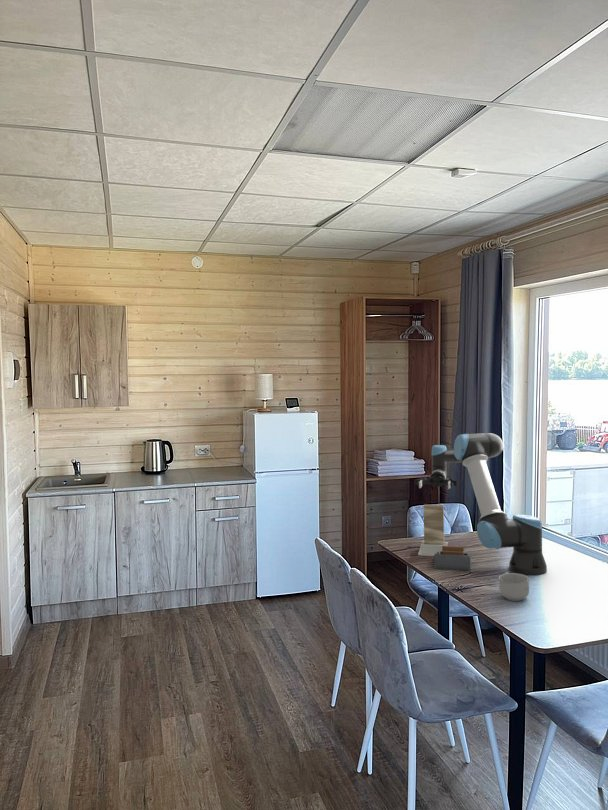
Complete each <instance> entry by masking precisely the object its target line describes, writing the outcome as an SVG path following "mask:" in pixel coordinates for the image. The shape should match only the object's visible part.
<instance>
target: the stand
mask: <svg viewBox="0 0 608 810" xmlns="http://www.w3.org/2000/svg"><path fill="white" fill-rule="evenodd" d="M448 544H449V542H448V541H444V545H446V546H449V545H448ZM419 545H420V546H419V547H420V548H419V551H418V553H417V556H426V557H434V554H437V552H439V554H440V551H442V546H443V545H433V544H424V540H421V543H420V544H419Z"/></svg>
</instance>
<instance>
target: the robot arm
mask: <svg viewBox="0 0 608 810" xmlns="http://www.w3.org/2000/svg"><path fill="white" fill-rule="evenodd" d="M453 445H454V446H453V448H448V447H447V446H446V445H443V444H435V445H432V446H431V474H430V476H429V477H428V478H427V477H426V476H424V477H421V478H417V479H414V486H418V489H422V487H423V486H424V485H430V486H431V485H432V486H434V487H436V488H437V487H438V488H439V487H442V486H447V490H449V489H451V487H457V486H458V481H457V480H456V479H453V478H452V477H448V472H447V471H448V470H447V469H448V468H447V464H452V463H454V464H455V463H462V466H464V467H466V469H467V471H468V475H469V478H470V479H469V480H470V482H471V485H472V489H473V492H474V496H475V498H476V502H477V505H478V508H479V512H480V515H481V516H480V518H479V519H478V523H477V525H476V530H477V531H476V532H477V533H476V534H477V537H478V539H479V541H480V543H481V544H482V545H483V547H485V548H487V549H488V550H489V549H491V550H493V549H495V550H499V549H505V548H512V549H513V550H512V554H511V557H510V560H509V564H508V565H509V570H510V571H512V572H513V573H517V574H523V575H530V576H531V575H534V576H535V575H543V574H546V573H547V571H548V570H547V569H548V568H547V567H548V565H547V563H546V560H545V556H544V555H543V523H542V520H541V518H538V517H536V516H532V515H528V514H523V513H522V514H519V513H517V514H513V515H512V518H509V519H508V516H507V513H506V512H504V511H503V510H502V509H501V506H500V503H499V499H498V497H497V493H496V491H495V487H494V484H493V481H492V478H491V475H490V470H489V468H488V465H487V462H488V460H489V459H490V458H491V459H492V458H495V457H497V456H499V455H500V454H501V453H502V452H503V450H504V442H503V440H502V438H501V437H500V436H499V435H497V434H495V433H491V432H484V433H483V432H482V433H480V432H479V433H478V432H477V433H463V434H459V435H457V437H456V438H455V440H454V444H453Z"/></svg>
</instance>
